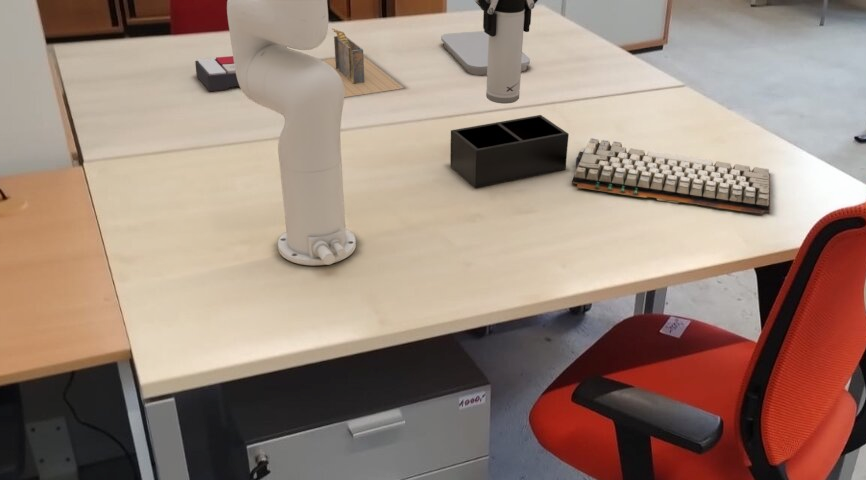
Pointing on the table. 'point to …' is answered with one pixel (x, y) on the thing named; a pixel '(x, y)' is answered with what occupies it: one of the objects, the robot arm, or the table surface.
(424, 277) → the table surface
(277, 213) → the table surface
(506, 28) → the travel mug
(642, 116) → the table surface
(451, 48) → the grey flat block
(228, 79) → the calculator
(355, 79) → the architectural model on board
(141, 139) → the table surface
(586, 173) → the mechanical keyboard
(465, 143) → the caddy
